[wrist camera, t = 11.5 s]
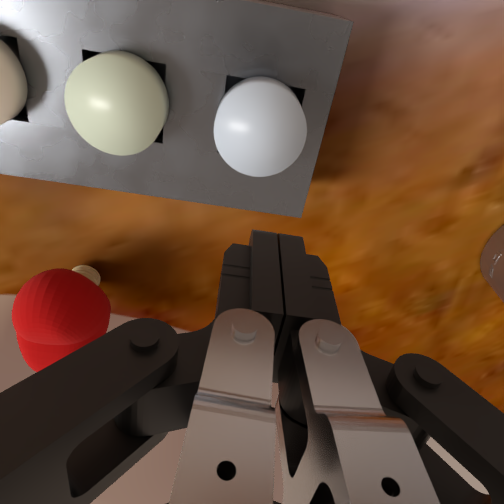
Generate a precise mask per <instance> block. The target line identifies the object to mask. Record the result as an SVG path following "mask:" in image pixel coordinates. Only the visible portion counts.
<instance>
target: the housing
mask: <svg viewBox="0 0 504 504" xmlns="http://www.w3.org/2000/svg"><path fill="white" fill-rule="evenodd" d="M352 26H353V21H350V20H347V19H345V18H342V17H339V16H337V15H334V14H329V13H324V12H319V11H314V10H309V9H304V8H299V7H294V6H289V5H284V4H279V3H274V2H269V1H264V0H0V34H1V35H6V36H8V37H10V38H12V39H14V40H16V41H17V42H18V49H19V56H20V63H21V66H22V68H23V70H24V73H25V76H26V80H27V88H28V92H27V99H26V103H25V105H24V107H23V109H22V111H21V112H20V113H19V114H18V115H17V116H15V117H14V118H12V119H11V120H9V121H7V122H5V123H4V124H2V125H0V174H7V175H14V176H20V177H27V178H34V179H41V180H48V181H54V182H61V183H68V184H75V185H82V186H88V187H95V188H102V189H109V190H116V191H122V192H129V193H136V194H143V195H150V196H156V197H163V198H170V199H177V200H184V201H191V202H197V203H204V204H211V205H218V206H225V207H231V208H238V209H245V210H252V211H259V212H265V213H272V214H279V215H286V216H293V217H299V218H301V216H302V212H303V209H304V205H305V201H306V197H307V194H308V190H309V186H310V182H311V179H312V175H313V171H314V168H315V164H316V160H317V156H318V153H319V149H320V145H321V141H322V138H323V134H324V130H325V127H326V123H327V119H328V115H329V112H330V108H331V104H332V100H333V97H334V93H335V89H336V86H337V82H338V78H339V74H340V71H341V67H342V63H343V59H344V56H345V52H346V48H347V45H348V41H349V37H350V33H351V30H352ZM115 50H118V51H125V52H129V53H132V54H134V55H137V56H138V57H140V58H142V59H143V60H145V61H146V62H148V63H149V64H150V65H151V66H152V67H153V68H154V69H155V70H156V71H157V72H158V74H159V75H160V77H161V79H162V81H163V82H164V85H165V87H166V90H167V94H168V99H169V112H168V117H167V120H166V122H165V124H164V126H163V128H162V130H161V131H160V133H159V135H158V136H157V138H156V139H155V141H154V142H153V143H152V144H151V145H150V146H149V147H148V148H146V149H145V150H143V151H141V152H139V153H136V154H133V155H124V156H120V155H113V154H109V153H106V152H103V151H101V150H99V149H97V148H95V147H93V146H92V145H90V144H89V143H88V142H86V141H85V140H84V139H83V138H82V137H81V136H80V135H79V133H78V132H77V131H76V129H75V128H74V127H73V125H72V123H71V121H70V119H69V117H68V114H67V111H66V107H65V99H64V94H65V87H66V83H67V80H68V78H69V76H70V74H71V73H72V71H73V70H74V69H75V68H76V67H77V66H78V65H79V64H80V63H82V62H84V61H85V60H87V59H89V58H91V57H94V56H96V55H98V54H100V53H103V52H106V51H115ZM259 76H262V77H269V78H273V79H276V80H278V81H280V82H282V83H284V84H285V85H286V86H288V87H289V88H290V89H291V90H292V91H293V93H294V94H295V95H296V97H297V99H298V101H299V103H300V105H301V107H302V110H303V112H304V115H305V119H306V124H307V136H306V141H305V144H304V147H303V149H302V152H301V153H300V155H299V157H298V158H297V159H296V160H295V162H294V163H293V164H291V165H290V166H289V167H288V168H286V169H285V170H283V171H282V172H279V173H277V174H274V175H271V176H265V177H254V176H249V175H245V174H242V173H240V172H238V171H236V170H235V169H233V168H232V167H231V166H229V165H228V164H227V163H226V162H225V161H224V159H223V158H222V157H221V155H220V153H219V151H218V149H217V147H216V144H215V140H214V122H215V118H216V114H217V110H218V107H219V104H220V102H221V100H222V98H223V96H224V95H225V94H226V92H227V91H228V90H229V89H230V88H231V87H232V86H234V85H235V84H236V83H238V82H240V81H242V80H244V79H247V78H251V77H259Z"/></svg>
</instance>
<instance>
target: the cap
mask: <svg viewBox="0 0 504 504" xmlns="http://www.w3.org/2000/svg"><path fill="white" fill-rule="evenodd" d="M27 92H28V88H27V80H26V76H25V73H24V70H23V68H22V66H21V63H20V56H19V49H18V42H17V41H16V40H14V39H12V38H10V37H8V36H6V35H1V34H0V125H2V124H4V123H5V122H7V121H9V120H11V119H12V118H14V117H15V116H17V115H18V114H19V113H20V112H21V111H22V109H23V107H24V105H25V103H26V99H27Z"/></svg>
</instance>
